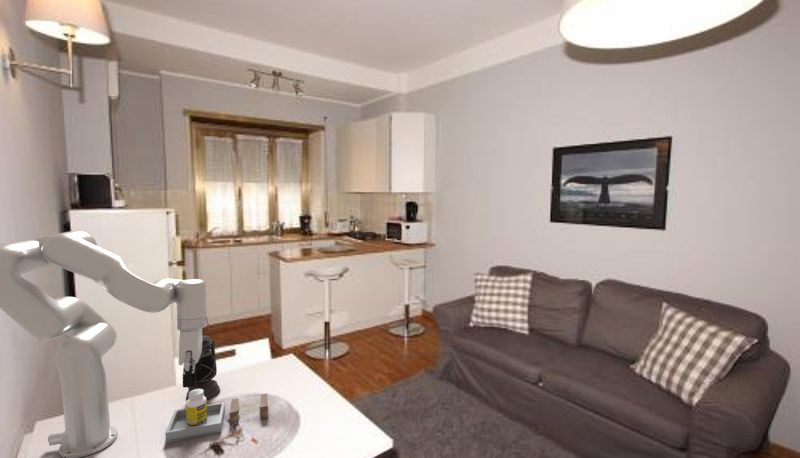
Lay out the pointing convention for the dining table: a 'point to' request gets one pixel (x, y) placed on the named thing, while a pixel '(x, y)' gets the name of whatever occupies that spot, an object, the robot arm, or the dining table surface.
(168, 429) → the tray
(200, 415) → the supplement bottle
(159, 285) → the robot arm
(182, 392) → the dining table surface
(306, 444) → the dining table surface
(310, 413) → the dining table surface
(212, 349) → the lantern
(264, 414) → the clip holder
